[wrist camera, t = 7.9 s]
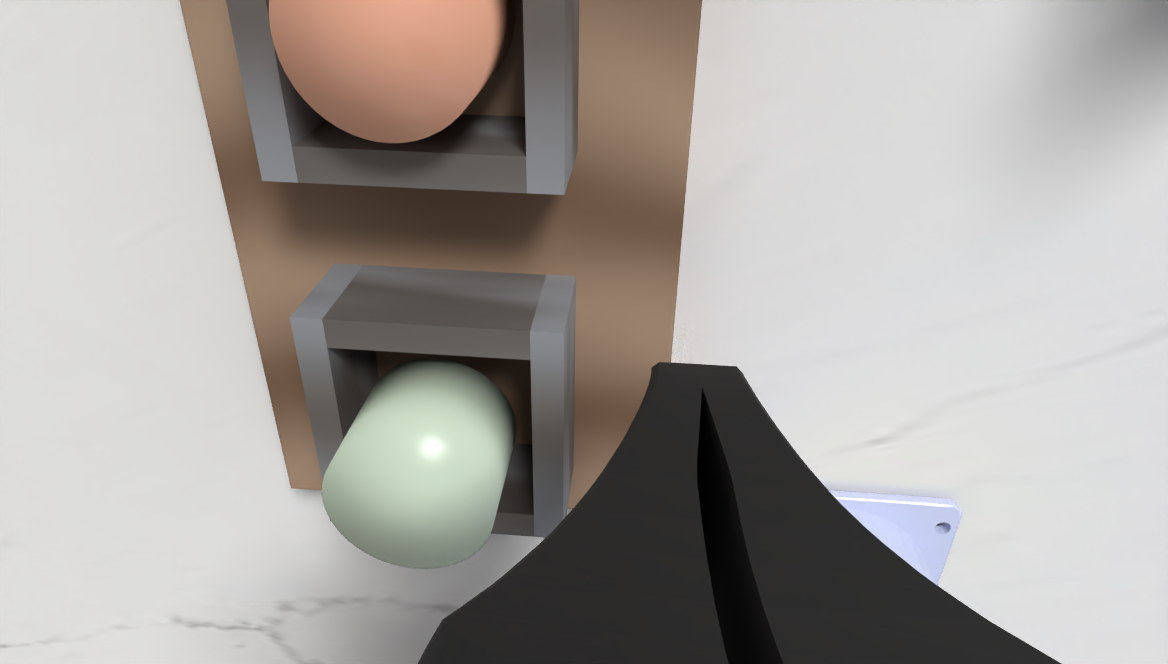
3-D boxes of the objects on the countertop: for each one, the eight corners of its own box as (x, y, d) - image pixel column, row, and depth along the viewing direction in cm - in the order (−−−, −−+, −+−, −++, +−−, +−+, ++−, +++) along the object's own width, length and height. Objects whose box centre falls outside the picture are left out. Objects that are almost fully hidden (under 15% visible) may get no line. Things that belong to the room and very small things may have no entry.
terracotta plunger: (517, 104, 18) (491, 147, 15) (346, 98, 18) (289, 138, 15) (513, -95, 16) (481, -88, 13) (318, -100, 16) (248, -94, 13)
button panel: (657, 473, 27) (656, 589, 22) (314, 449, 27) (249, 556, 23) (719, -259, 16) (738, -305, 12) (170, -264, 17) (7, -308, 13)
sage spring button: (518, 485, 22) (497, 574, 19) (376, 475, 22) (335, 562, 19) (514, 362, 20) (489, 443, 17) (357, 353, 20) (308, 431, 17)
